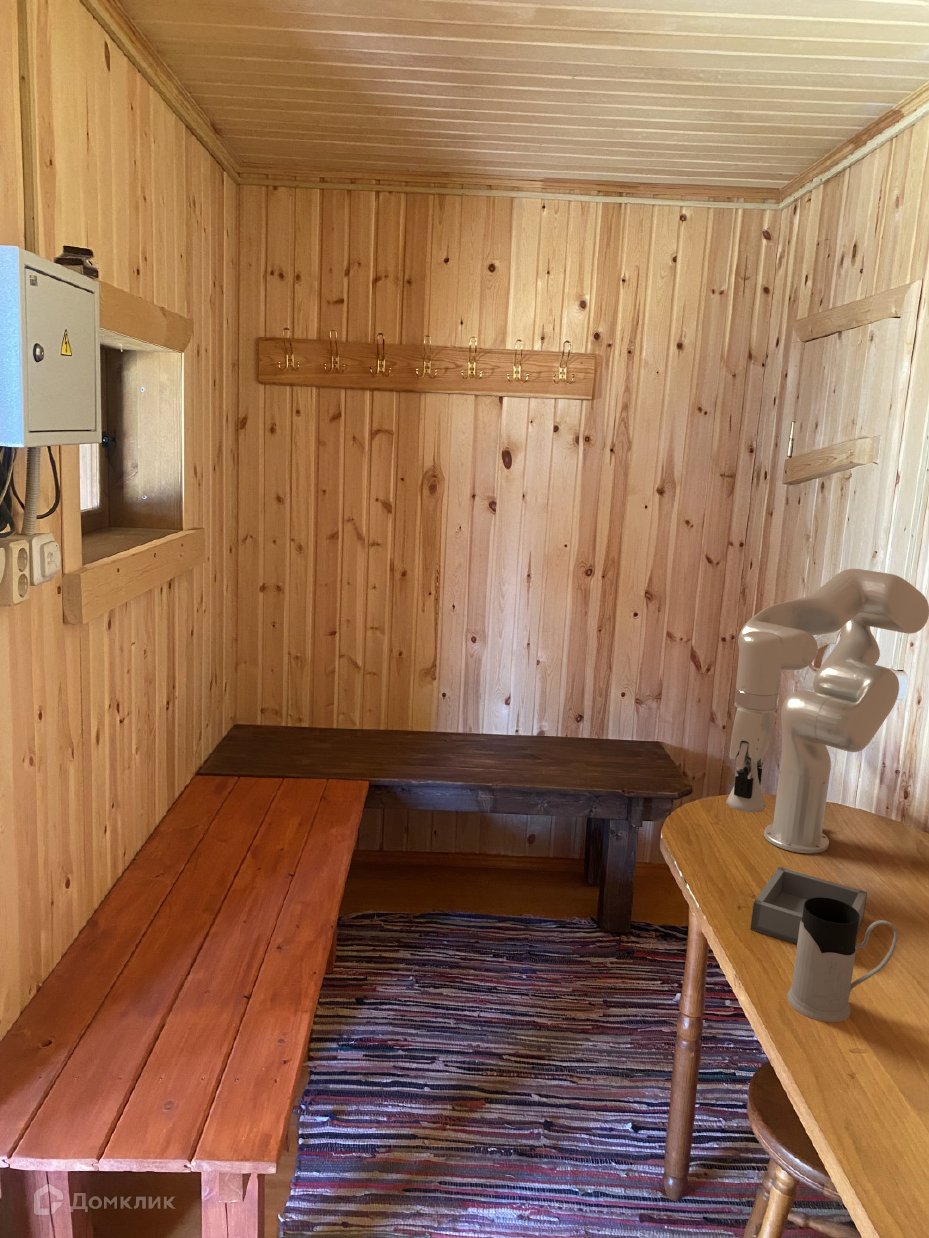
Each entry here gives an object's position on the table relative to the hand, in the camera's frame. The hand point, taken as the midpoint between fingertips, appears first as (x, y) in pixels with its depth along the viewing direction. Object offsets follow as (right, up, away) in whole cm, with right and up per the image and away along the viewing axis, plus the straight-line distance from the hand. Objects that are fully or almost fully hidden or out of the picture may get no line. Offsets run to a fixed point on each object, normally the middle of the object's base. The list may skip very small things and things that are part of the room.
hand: (747, 790), depth 172 cm
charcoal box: (+6, -20, -15) cm, 26 cm away
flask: (0, -3, +1) cm, 3 cm away
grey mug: (+2, -25, -37) cm, 45 cm away
